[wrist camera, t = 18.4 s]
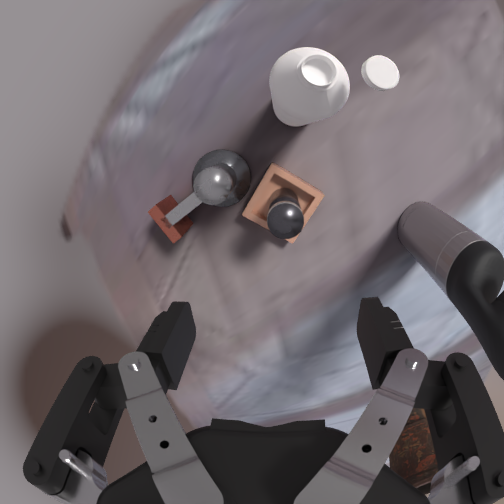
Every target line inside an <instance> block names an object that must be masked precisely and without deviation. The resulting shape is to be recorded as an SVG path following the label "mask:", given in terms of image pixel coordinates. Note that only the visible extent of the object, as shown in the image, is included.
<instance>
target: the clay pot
mask: <svg viewBox="0 0 504 504" xmlns="http://www.w3.org/2000/svg"><path fill="white" fill-rule="evenodd" d="M389 460H390V468H391V469H392V470H393V471H394V472H396V473H397V474H398V475H400V476H401V477H402V478H403V479H405V480H406V481H407V482H409V483H410V484H411V485H413V486H414V487H415V488H417V489H418V490H419V491H421V492H422V493H423V494H424V495H425V494H428V493H430V491H431V481H432V479H433V477H434V475H435V474H436V473H437V472H438V471H439V470H438V465H437V460H436V455H435V450H434V446H433V442H432V437H431V433H430V429H429V425H428V421H427V418H426V414H425V410H424V409H419V408H413V409H412V411H411V413H410V415H409V418H408V420H407V422H406V424H405V426H404V428H403V430H402V432H401V434H400V436H399V438H398V440H397V442H396V444H395V446H394V448H393V449H392V451H391V453H390V455H389Z"/></svg>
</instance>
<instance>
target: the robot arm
mask: <svg viewBox="0 0 504 504" xmlns="http://www.w3.org/2000/svg"><path fill="white" fill-rule="evenodd" d="M398 236H399V239H400V242H401V243H402V245H403V246H404V247H405V248H406V249H407V250H408V251H409V252H410V253H411V255H412V256H413V257H414V258H415V259H416V260H417V261H418V262H419V264H420V265H421V266H422V267H423V268H424V269H425V270H426V272H427V273H428V274H429V275H430V276H431V277H432V279H433V280H434V281H435V282H436V283H437V284H438V286H439V287H440V288H441V289H442V290H443V292H444V293H445V294H446V295H447V297H448V298H449V299H450V300H451V302H452V303H453V304H454V305H455V307H456V308H457V309H458V311H459V312H460V313H461V315H462V316H463V317H464V319H465V320H466V321H467V323H468V324H469V326H470V327H471V329H472V330H473V332H474V333H475V335H476V337H477V338H478V340H479V342H480V344H481V345H482V347H483V349H484V351H485V353H486V354H487V356H488V358H489V360H490V362H491V363H492V365H493V367H494V368H495V370H496V371H497V373H498V374H499V376H500V377H501V378H502V379H503V380H504V291H503V292H502V293H501V294H500V295H499V296H498V294H499V292H500V290H501V287H502V284H503V281H504V258H503V256H502V254H501V253H500V251H499V250H498V249H497V248H496V247H494V246H493V245H492V244H490V243H489V242H488V241H486V240H485V239H483V238H482V237H481V236H479V235H478V234H476V233H475V232H473V231H472V230H470V229H469V228H467V227H466V226H464V225H463V224H461V223H460V222H458V221H457V220H455V219H454V218H452V217H451V216H449V215H448V214H446V213H444V212H443V211H441V210H440V209H438V208H436V207H435V206H433V205H431V204H429V203H427V202H417V203H414V204H412V205H411V206H409V207H408V208H407V209H406V210H405V211H404V213H403V214H402V216H401V218H400V221H399V224H398ZM497 296H498V297H497ZM357 336H358V340H359V343H360V346H361V350H362V353H363V356H364V360H365V363H366V367H367V370H368V374H369V378H370V381H371V385H372V389H373V390H374V389H377V391H376V393H375V394H374V396H373V398H372V399H371V401H370V403H369V404H368V406H367V407H366V409H365V411H364V412H363V414H362V415H361V417H360V418H359V420H358V421H357V423H356V424H355V426H354V427H353V429H352V430H351V432H350V433H349V434H347V433H345V432H343V431H340V430H337V429H334V428H330V427H325V420H310V421H295V422H291V423H287V424H283V425H278V426H273V427H262V426H258V425H254V424H250V423H246V422H243V421H238V420H223V419H212V422H211V426H206V427H201V428H198V429H195V430H193V431H190V432H188V433H187V434H186V433H185V431H184V429H183V427H182V426H181V424H180V422H179V420H178V418H177V416H176V414H175V412H174V410H173V408H172V407H171V404H170V402H169V400H168V398H167V396H166V393H167V390H168V389H172V390H177V388H178V385H179V382H180V379H181V376H182V374H183V371H184V368H185V365H186V363H187V360H188V357H189V354H190V352H191V349H192V346H193V344H194V341H195V337H196V327H195V323H194V319H193V315H192V311H191V307H190V304H189V302H172V303H171V305H170V307H169V309H168V311H167V312H165V311H163V312H162V313H160V314H159V315H158V316H157V317H156V318H155V319H154V321H153V323H152V324H151V326H150V328H149V330H148V332H147V333H146V335H145V336H144V338H143V340H142V342H141V343H140V345H139V347H138V349H137V350H136V352H131V353H128V354H126V355H125V356H123V357H122V358H121V360H120V361H119V363H116V364H106V365H103V363H102V361H101V360H100V358H98V357H95V356H89V357H86V358H83V359H82V360H80V361H79V362H78V363H77V365H76V366H75V368H74V370H73V371H72V373H71V375H70V376H69V378H68V380H67V381H66V383H65V385H64V386H63V388H62V390H61V392H60V394H59V395H58V397H57V399H56V400H55V402H54V404H53V406H52V408H51V409H50V412H49V413H48V415H47V417H46V419H45V421H44V423H43V425H42V426H41V428H40V431H39V432H38V435H37V436H36V438H35V440H34V443H33V445H32V447H31V449H30V451H29V453H28V455H27V457H26V460H25V462H24V465H23V472H24V476H25V478H26V479H27V481H28V482H30V483H31V484H33V485H34V486H36V487H37V488H39V489H40V490H42V491H43V492H44V493H45V494H47V495H49V496H51V497H52V498H54V499H56V500H57V501H59V502H61V503H63V504H493V503H494V502H496V501H498V500H499V499H501V498H503V497H504V432H503V429H502V426H501V424H500V421H499V419H498V416H497V413H496V411H495V408H494V406H493V404H492V401H491V399H490V397H489V394H488V392H487V390H486V388H485V386H484V383H483V381H482V379H481V377H480V375H479V373H478V371H477V369H476V367H475V365H474V363H473V361H472V360H471V358H470V357H468V356H467V355H465V354H463V353H452V354H450V355H449V356H448V357H447V359H446V361H445V362H443V361H431V360H428V359H427V357H426V355H425V354H424V353H423V352H421V351H420V350H417V349H414V348H413V346H412V344H411V342H410V340H409V338H408V336H407V334H406V332H405V330H404V328H403V326H402V324H401V322H400V320H399V318H398V316H397V314H396V313H395V312H394V311H393V310H392V309H390V308H389V307H383V305H382V303H381V301H380V300H379V298H378V297H372V298H362V300H361V304H360V310H359V316H358V322H357ZM94 400H95V403H94V404H93V407H92V409H91V411H90V413H89V410H90V407H91V405H92V403H93V401H94ZM124 408H127V409H128V412H129V415H130V418H131V421H132V424H133V427H134V429H135V432H136V435H137V437H138V440H139V443H140V445H141V448H142V450H143V452H144V455H145V457H146V460H147V461H146V462H145V463H143V464H142V465H140V466H138V467H137V468H135V469H134V470H132V471H131V472H129V473H127V474H126V475H124V476H123V477H121V478H119V479H118V480H116V481H114V482H113V483H111V484H109V485H108V483H107V475H106V472H105V470H104V468H103V465H104V462H105V459H106V456H107V453H108V450H109V448H110V445H111V442H112V439H113V437H114V434H115V431H116V429H117V426H118V423H119V421H120V418H121V416H122V413H123V410H124ZM413 408H419V409H424V410H425V414H426V418H427V421H428V425H429V429H430V433H431V437H432V442H433V446H434V450H435V455H436V460H437V465H438V470H439V471H438V472H437V473H436V474H435V475H434V477H433V479H432V481H431V491H430V495H429V497H428V498H427V497H426V496H425V495H424V494H423V493H422V492H421V491H419V490H418V489H417V488H415V487H414V486H413V485H411V484H410V483H409V482H407V481H406V480H405V479H403V478H402V477H401V476H400V475H398V474H397V473H396V472H394V471H393V470H392V469H391V468H389V467H388V466H387V465H386V464H385V462H386V460H387V458H388V457H389V455H390V453H391V451H392V449H393V448H394V446H395V444H396V442H397V440H398V438H399V436H400V434H401V432H402V430H403V428H404V426H405V424H406V422H407V420H408V418H409V415H410V413H411V411H412V409H413ZM107 485H108V486H107Z"/></svg>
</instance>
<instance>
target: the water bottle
mask: <svg viewBox="0 0 504 504" xmlns="http://www.w3.org/2000/svg"><path fill="white" fill-rule="evenodd" d="M361 71H362V76H363V79H364V80H365V82H366V83H367V84H368V85H369V86H370V87H372V88H373V89H375V90H379V91H385V90H389V89H391V88H393V87H395V86H396V85H397V83H398V81H399V71H398V69H397V67H396V65H395V64H394V63H393V62H392V61H391V60H390V59H389V58H387V57H384V56H381V55H375V56H372V57H370V58H369V59H367V60H366V61H365V62H364V63H363V65H362V70H361ZM269 86H270V91H271V97H272V103H273V109H274V113H275V115H276V116H277V118H278V119H279V120H280V121H281V122H283V123H285V124H287V125H289V126H296V127H297V126H303V125H306V124H310V123H313V122H316V121H321V120H324V119H327V118H330V117H332V116H333V115H335V114H336V113H337V112H339V111H340V110H341V109H342V107H343V106H344V105H345V103H346V101H347V99H348V96H349V90H350V83H349V78H348V75H347V72H346V70H345V68H344V67H343V65H342V64H341V63H340V62H339V61H338V60H337V59H336V58H335V57H334V56H333V55H331V54H330V53H328V52H326V51H323V50H321V49H317V48H311V47H303V48H297V49H293V50H290V51H288V52H287V53H285V54H284V55H282V56H281V57H280V58H279V59H278V60H277V61H276V63H275V64H274V66H273V68H272V70H271V73H270V78H269Z"/></svg>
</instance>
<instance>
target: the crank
mask: <svg viewBox="0 0 504 504" xmlns="http://www.w3.org/2000/svg"><path fill="white" fill-rule="evenodd" d="M236 182H237V176H236V173H235V171H234V169H233V168H232V167H231V166H229V165H227V164H224V163H216V164H214V165H212V166H210V167H208V168H206V169H204V170H202V171H201V172H200V173H198V175H197V176H196V178H195V180H194V184H193V188H194V192H193V193H192V194H191V195H190V196H188V197H187V198H186V199H185V200H184V201H182V202H181V203H180V204H179V205H178V203H177V202H176V201H175V200H174V198H173V197H172V196H171V195H170V196H168V197H167V198H165V199H164V200H162V201H161V202H159V203H158V204H156V205H155V206H154V207H153V208H152V209H151V210H149V211H148V213H149V214H150V215H151V217H152V218H153V219H154V220H155V222H156V223H157V224H158V225H159V227H160V228H161V229H162V230H163V232H164V233H165V234H166V235H167V236H168V238H169V239H170V240H171V241H172V242H173V243H175V242H176V241H177V240H179V239H180V238H181V237H182V236H183V235H184V234H185V233H186V232H187V230H188V229H189V228H190V227H191V226H192V225H193V222H192V221H191V220H190V218H189V217H188V216H187V214H188V213H189V212H191V211H192V210H193V209H194V208H196V207H197V206H198V205H199V204H201V203H202V202H203V203H205V204H208V205H217V204H220V203H222V202H223V201H224V200H225V199H226V198H227V197H228V196H229V194H230V193H231V192H232V190H233V189H234V188H235V186H236Z"/></svg>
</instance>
